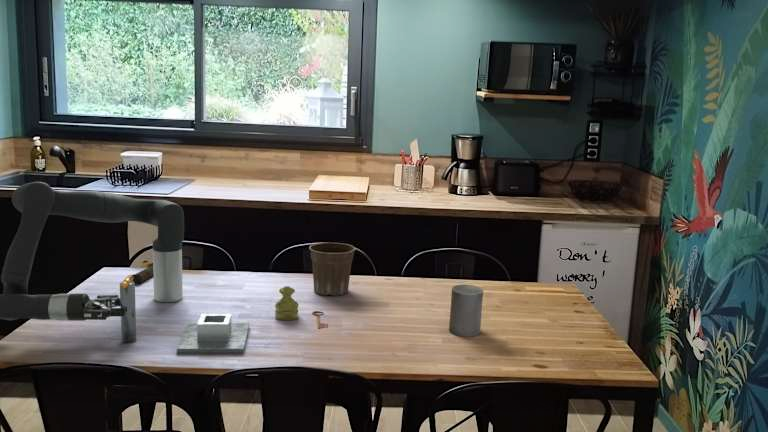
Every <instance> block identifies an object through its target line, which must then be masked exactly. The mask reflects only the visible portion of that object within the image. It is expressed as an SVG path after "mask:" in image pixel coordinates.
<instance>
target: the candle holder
mask: <svg viewBox="0 0 768 432" xmlns="http://www.w3.org/2000/svg"><path fill="white" fill-rule="evenodd" d="M249 330H250V323H249V322H246V323H243V322H242V323H241V322H239V323H238V322H237V323H235V322H233V323H232V313H201V314H200V317H199V319H198V321H197V322H194V323H193V322H188V324H187V325H186V328H185V330H184V332H183V334H182V336H181V339H180V341H179V343H178V345H177V347H176V354H177V355H207V354H208V355H212V354H214V355H216V354H217V355H218V354H220V355H221V354H222V355H224V354H226V355H231V354H232V355H233V354H234V355H235V354H236V355H238V354H244V353H245V349H246V344H247V339H248V337H249V336H248V334H249Z"/></svg>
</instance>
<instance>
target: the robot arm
mask: <svg viewBox="0 0 768 432" xmlns="http://www.w3.org/2000/svg"><path fill="white" fill-rule="evenodd" d="M11 202H12V205H13V207H14V208H15V209H16V210H17V211H19V212H20V213H21V219H20V224H19V226H18V229H17V232H16V234H15V236H14V238H13V240H12V241H11V243H10V244H11V245H10V246H9V249H8V250H7V254H6V256H5V260H4V265H3V267H2V272H1V276H0V281H1V283H2V284H3V290H2V293H1V294H0V320H5V321H15V320H18V319H32V320H40V321H41V320H43V321H44V320H45V321H47V320H49V321H51V320H52V321H59V322H60V321H61V322H62V321H66V322H67V321H68V322H69V321H72V322H73V321H74V322H75V321H76V322H77V321H82V322H83V321H86V320H91V321H92V320H95V321H97V320H99V321H106V320H107V318H108V319H109V318H111V317H121V316H125V308H121V307H120V295H118V294H111V295H109V294H106V295H104V294H103V295H102V294H101V295H96V298H95V299H91V298H90V295H89V294H87V293H57V294H42V293H41V294H28V291H29V287H28V286H29V280H30V275H31V272H32V266H33V265H34V264H33V263H34V259H35V254H36V252H37V248H38V245H39V241H40V238H41V236H42V231H43V229H44V226H45V224H46V222H47V221H48V220H47V219H48V218H49V215H50V216H51V215H52V216H53V215H55V216H63V217H68V218H69V217H70V218H74V219H80V220H85V221H92V222H99V223H100V222H101V223H109V224H110V223H111V224H112V223H114V224H115V223H116V224H117V223H123V222H125V223H126V222H138V223H143V224H148V225H151V226H154V227H157V238H155V239H154V240H153V241H152V263H153V273H154V275H153V297H154V298H153V299H154V301H156V302H158V303H174V302H178V301H180V300H183V295H184V293H183V252H182V251H183V250H182V247H183V241H184V238H185V214H184V209H183V207H182V206H180V205H179V204H178V203H176V202H172V201H170V200H165V199H145V198H144V199H141V198H140V199H139V198H133V197H131V196H130V197H129V196H127V195H122V194H116V193H112V192H105V191H98V190H96V191H94V190H67V191H66V190H57V189H53V188H52V186H50V185H49V184H48V183H46V182H43V181H33V182H32V181H31V182H26V183H24V184H22V185H20V186H18V187H17V188H16V189H14V191H13V193H12V195H11Z"/></svg>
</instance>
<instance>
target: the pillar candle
mask: <svg viewBox="0 0 768 432" xmlns="http://www.w3.org/2000/svg"><path fill="white" fill-rule="evenodd" d="M450 296H451V298H450V299H451V300H450V313H449V326H448V332H450V333H451V334H453V336H454V335H455V336H458V337H465V338H470V337H471V338H472V337H477V336H478V335H479V334H480V333H481V327H482V325H481V323H482V312H483V310H482V309H483V299H484V288H481V286H477V285H473V284H457V285H453V286H452V288H451V295H450Z"/></svg>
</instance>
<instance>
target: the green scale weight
mask: <svg viewBox="0 0 768 432" xmlns="http://www.w3.org/2000/svg"><path fill="white" fill-rule="evenodd" d="M278 291H279V293H280V294H281V296H282V297H281V298H280V299H279V300H278V301H276V302H275V304H274V307H275V310H274V316H275V318H276V319H277V320H279V321H293V320H296V319H297V318H298V317H299V302H297V301H296V300H295V299H294V298H293V297H292V295H293V294H294V293H295V292H296V290H295V288H293V287H290V285H287V286H285V285H284V286H283V287H281V288H279V290H278Z"/></svg>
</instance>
